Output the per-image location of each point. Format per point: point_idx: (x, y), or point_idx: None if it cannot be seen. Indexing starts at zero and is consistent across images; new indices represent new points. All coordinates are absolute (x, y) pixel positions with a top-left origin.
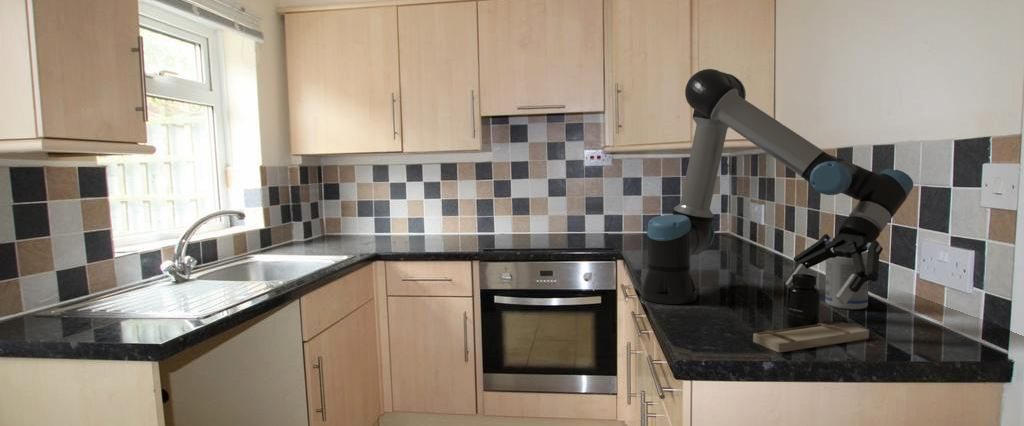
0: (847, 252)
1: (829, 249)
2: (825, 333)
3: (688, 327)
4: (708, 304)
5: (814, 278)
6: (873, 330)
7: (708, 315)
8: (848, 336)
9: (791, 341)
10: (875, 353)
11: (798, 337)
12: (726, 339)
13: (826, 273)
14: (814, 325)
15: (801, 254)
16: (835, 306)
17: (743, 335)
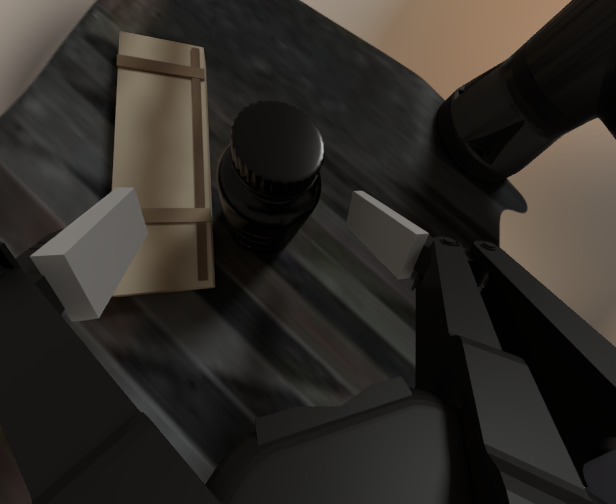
0: (249, 443)
1: (451, 365)
2: (137, 168)
3: (314, 44)
4: (434, 169)
5: (234, 150)
6: (174, 370)
7: (370, 119)
8: None
9: (117, 56)
10: (13, 215)
11: (139, 95)
12: (235, 42)
13: None
14: (199, 191)
15: (509, 266)
16: None
17: (246, 80)
